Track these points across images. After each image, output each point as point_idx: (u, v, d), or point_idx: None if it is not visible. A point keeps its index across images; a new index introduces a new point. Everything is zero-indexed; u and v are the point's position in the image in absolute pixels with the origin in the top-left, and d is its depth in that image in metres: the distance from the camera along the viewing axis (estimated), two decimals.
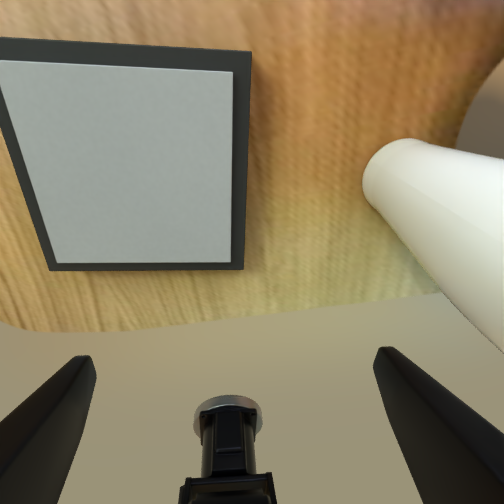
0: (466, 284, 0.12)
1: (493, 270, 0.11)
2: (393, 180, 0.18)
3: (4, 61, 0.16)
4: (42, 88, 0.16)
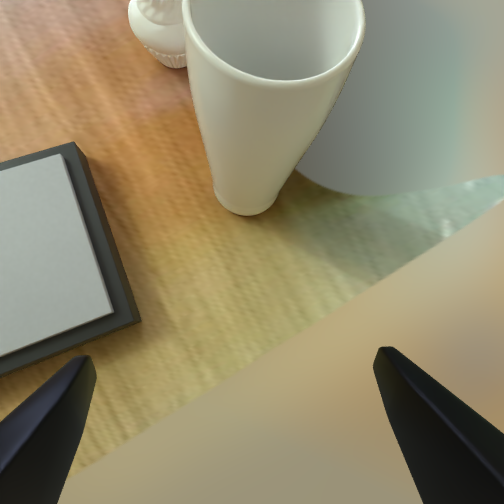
0: (197, 90, 0.12)
1: (186, 53, 0.12)
2: None
3: None
4: None
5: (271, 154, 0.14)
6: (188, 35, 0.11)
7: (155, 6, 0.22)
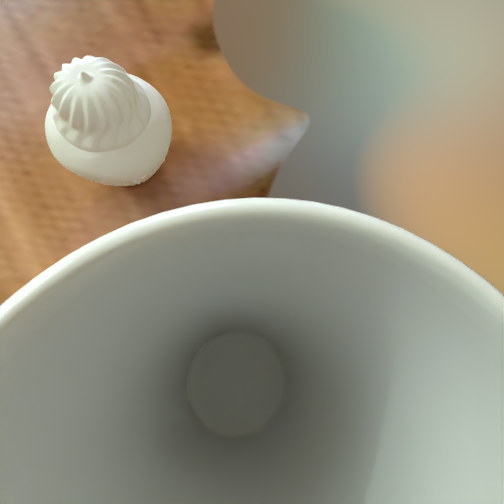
0: None
1: None
2: None
3: None
4: None
5: None
6: None
7: (78, 128, 0.13)
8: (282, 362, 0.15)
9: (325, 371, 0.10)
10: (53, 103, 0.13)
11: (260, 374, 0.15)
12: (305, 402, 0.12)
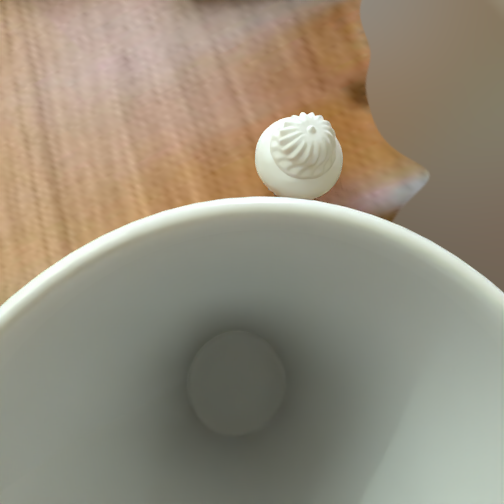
0: None
1: None
2: None
3: None
4: None
5: None
6: None
7: (293, 161, 0.19)
8: (283, 362, 0.15)
9: (325, 370, 0.10)
10: (283, 141, 0.19)
11: (260, 374, 0.15)
12: (305, 402, 0.12)
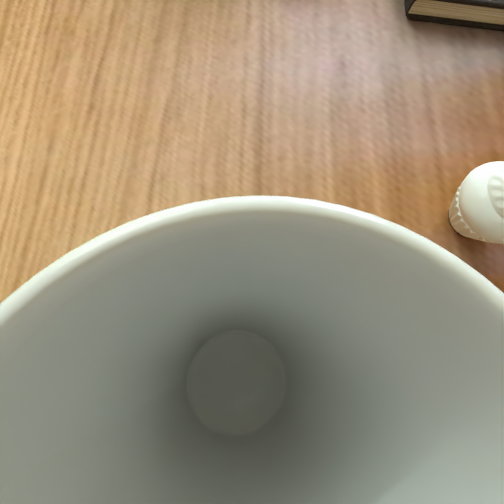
0: None
1: None
2: None
3: None
4: None
5: None
6: None
7: None
8: (282, 361, 0.15)
9: (325, 370, 0.10)
10: None
11: (260, 373, 0.15)
12: (305, 401, 0.12)
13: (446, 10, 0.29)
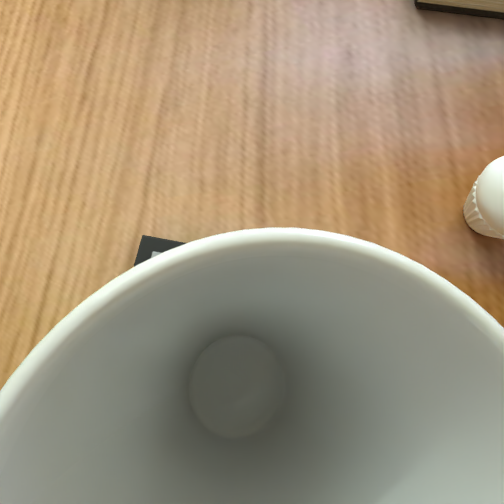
0: None
1: None
2: None
3: None
4: None
5: None
6: None
7: None
8: (281, 365, 0.15)
9: (324, 374, 0.10)
10: None
11: (260, 377, 0.16)
12: (305, 403, 0.12)
13: None
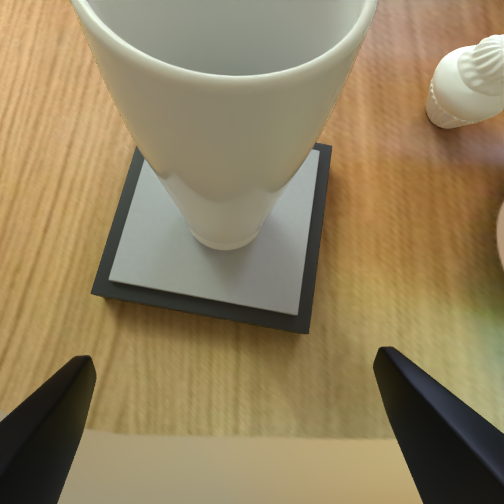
0: (112, 96, 0.08)
1: None
2: None
3: None
4: None
5: (238, 189, 0.10)
6: (70, 0, 0.06)
7: (481, 72, 0.22)
8: None
9: None
10: (478, 52, 0.22)
11: None
12: None
13: None
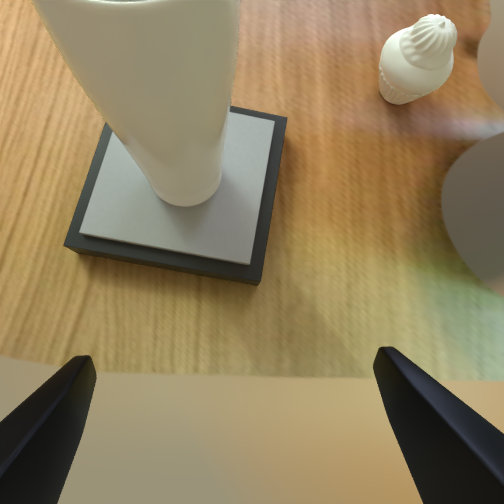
0: (49, 34, 0.10)
1: None
2: None
3: None
4: None
5: (160, 118, 0.12)
6: None
7: (418, 48, 0.24)
8: None
9: None
10: (415, 30, 0.24)
11: None
12: None
13: None
